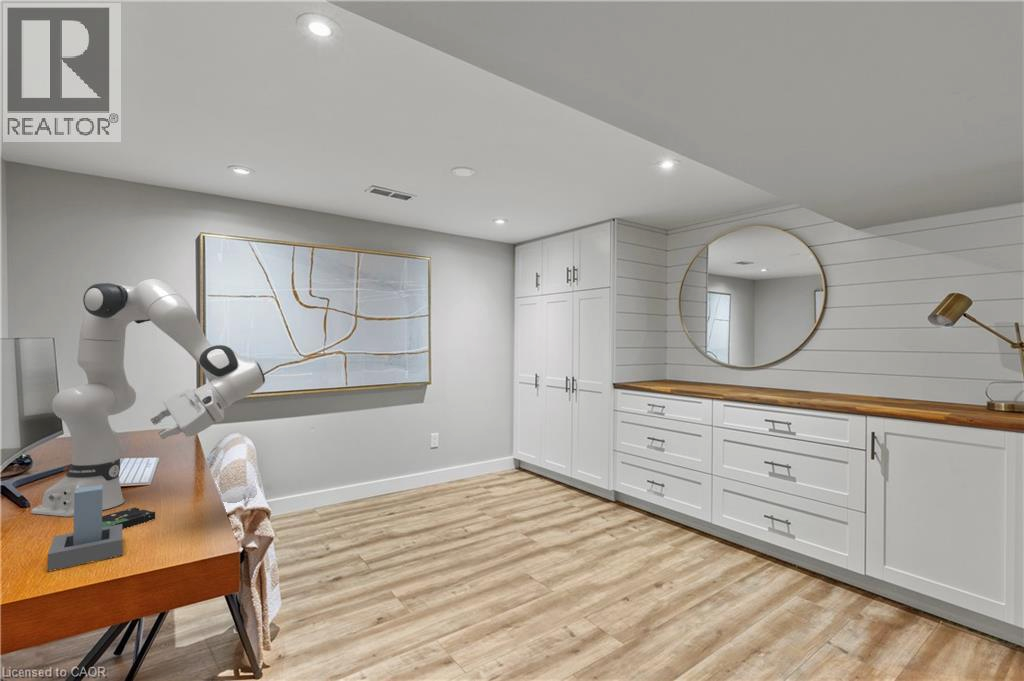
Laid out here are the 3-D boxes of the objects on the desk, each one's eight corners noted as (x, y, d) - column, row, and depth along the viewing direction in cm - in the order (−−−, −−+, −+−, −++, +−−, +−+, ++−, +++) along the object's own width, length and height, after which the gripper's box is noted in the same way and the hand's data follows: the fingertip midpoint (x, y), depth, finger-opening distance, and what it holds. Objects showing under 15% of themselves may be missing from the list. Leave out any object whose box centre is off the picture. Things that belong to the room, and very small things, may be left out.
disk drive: (133, 516, 143) (73, 533, 129) (134, 507, 143) (73, 523, 129) (156, 521, 139) (96, 539, 125) (156, 511, 139) (96, 528, 125)
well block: (53, 552, 116) (53, 536, 116) (122, 539, 124) (122, 523, 125) (47, 572, 106) (47, 554, 106) (122, 556, 114) (122, 539, 115)
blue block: (74, 553, 116) (75, 488, 116) (101, 548, 119) (102, 484, 119) (72, 560, 112) (74, 493, 112) (100, 554, 115) (102, 489, 115)
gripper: (192, 379, 140) (140, 405, 133) (213, 405, 127) (158, 436, 120) (203, 395, 144) (153, 422, 136) (225, 422, 131) (172, 453, 123)
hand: (155, 429), depth 128 cm, fingers open, 8 cm apart
